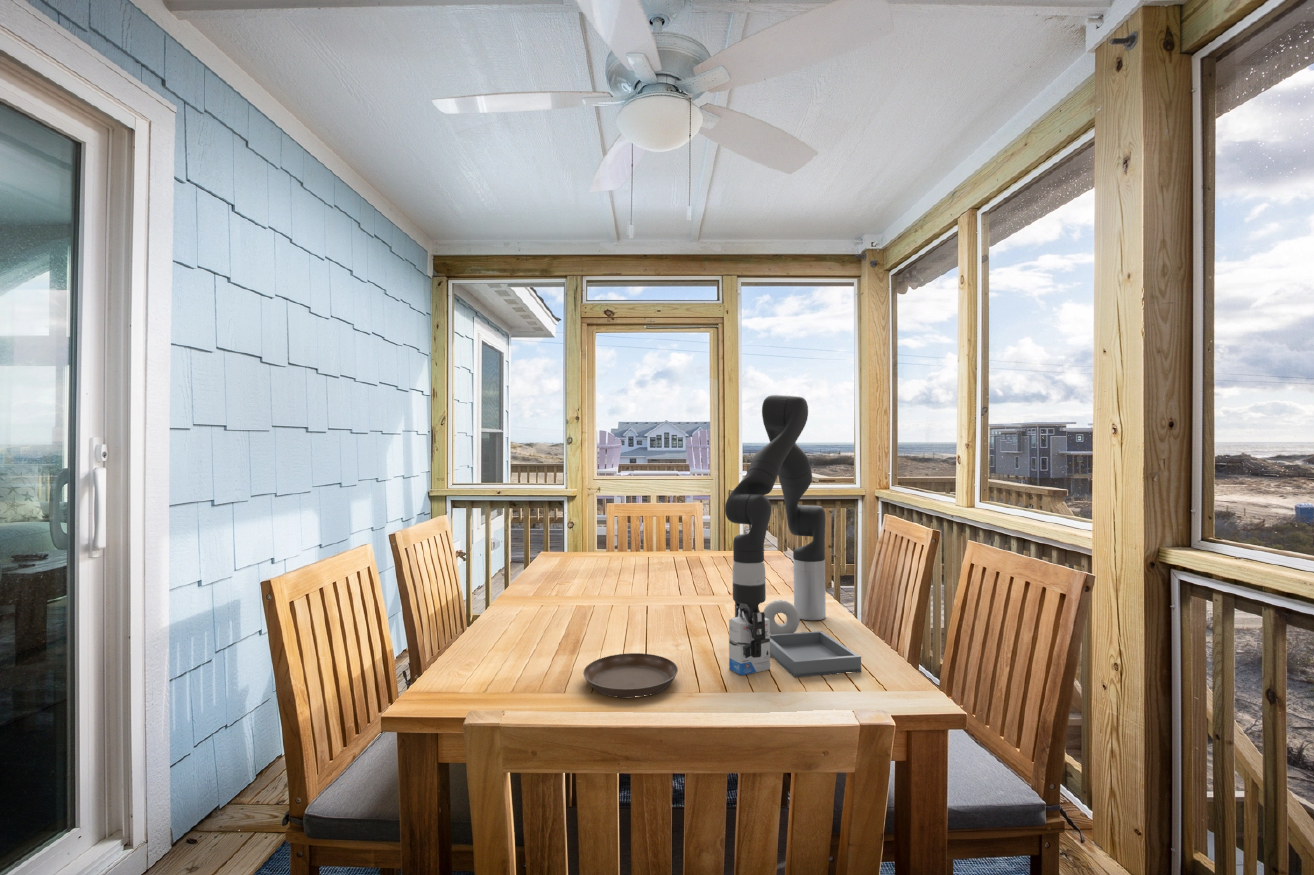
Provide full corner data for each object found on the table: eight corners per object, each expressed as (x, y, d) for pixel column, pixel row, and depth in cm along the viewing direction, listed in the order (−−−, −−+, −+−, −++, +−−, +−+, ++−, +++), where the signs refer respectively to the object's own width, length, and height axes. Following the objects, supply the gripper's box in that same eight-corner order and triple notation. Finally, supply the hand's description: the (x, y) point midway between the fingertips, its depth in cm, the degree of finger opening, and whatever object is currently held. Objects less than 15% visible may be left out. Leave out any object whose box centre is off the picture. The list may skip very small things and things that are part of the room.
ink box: (740, 676, 140) (740, 623, 140) (728, 669, 145) (727, 618, 145) (771, 669, 144) (770, 618, 144) (758, 663, 149) (757, 613, 149)
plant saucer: (644, 711, 123) (644, 694, 123) (563, 690, 134) (563, 675, 134) (694, 677, 141) (694, 662, 141) (619, 661, 151) (619, 647, 152)
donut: (762, 638, 167) (761, 601, 167) (761, 634, 171) (761, 597, 171) (800, 640, 166) (799, 602, 166) (799, 636, 169) (799, 598, 169)
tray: (763, 648, 159) (762, 635, 159) (822, 644, 162) (821, 630, 162) (794, 677, 139) (794, 661, 139) (861, 672, 142) (861, 656, 142)
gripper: (775, 586, 138) (776, 660, 138) (753, 573, 152) (754, 640, 152) (743, 587, 137) (744, 662, 137) (724, 575, 151) (724, 642, 151)
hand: (749, 650), depth 144 cm, fingers open, 8 cm apart
